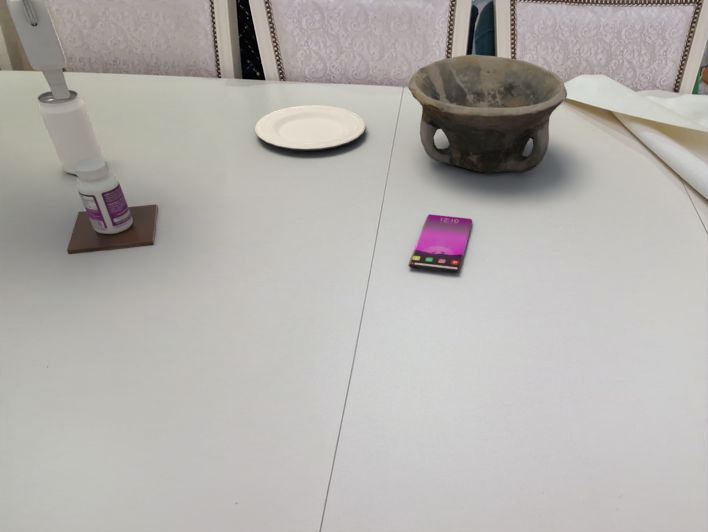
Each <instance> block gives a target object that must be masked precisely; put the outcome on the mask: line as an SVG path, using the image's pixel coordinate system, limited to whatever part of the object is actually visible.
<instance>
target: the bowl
mask: <svg viewBox="0 0 708 532" xmlns="http://www.w3.org/2000/svg"><path fill="white" fill-rule="evenodd" d="M407 87H408V90H409V91H410V93H411V95H412V97H413V98H414V99H415V100H416V101H417V102H418V103H419V104H420V106H421V109H422V111H421V119H420V125H419V135H420V143H421V145H422V147H423V149H424V151H425V153H426V154H427V155H428V156H429V158H430V159H432V160H433V161H436V162H438V163H446V164H448V165H451V166H456V167H459V168H462V169H466V170H470V171H474V172H479V173H483V174H485V173H488V174H489V173H501V172H515V173H525V172H530V171H533V170H534V169H535V168H537V167H538V166H539V164H541V162H542V161H543V159H544V157H545V156H546V153H547V151H548V148H549V143H550V117H551V115H552V113H553V112H554V111H555V110H556V109H558V107H559V106H561V104H562V103H563V102H564V101H565V100H566V99H567V97H568V91H567V88H566V85H565V82H564V80H563V79H562V78H561V76H560V75H558V74H556V73H555V72H554V71H551V70H548V69H546V68H545V67H543V66H540V65H537V64H535V63H532V62H530V61H527V60H521V59H516V58H511V57H510V58H509V57H502V56H496V55H483V54H482V55H480V54H466V55H464V54H463V55H458V56H457V55H456V56H453V57H449V58H443V59H440V60H436V61H434V62H432V63H430V64H427V65H424V66H422V67H420V68H418V69H417V70H416V71H415V72H414V73H413V74H412V76H411V78H410V79H409V82H408V86H407ZM439 130H441V131H442V132H443V134H444V135H445V137H446V139H447V141H448V143H449V144H448V146H447V147H445V148H440V147H437V145H436V142H435V135H436V133H437V131H439ZM530 140H532V147H531V151H530V153H529V154H528V155H524V154H525V151H526V149H527V146H528V143H529V141H530Z"/></svg>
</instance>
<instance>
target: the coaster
mask: <svg viewBox="0 0 708 532" xmlns="http://www.w3.org/2000/svg"><path fill="white" fill-rule="evenodd" d="M128 208H129V210H130V213H131V216H132V219H133V223H132V225H131V226H130V227H129V228H128V229H127V230H125V231H122V232H119V233H116V234H103V233H99V232H97V231H95V229H94V228H93V226H92V224H91V222H90V219H89V217H88V214H87V212H86V210H84V211H78V212H77V215H76V219H75V222H74V226H73V228H72V232H71V236H70V239H69V243H68V246H67V249H66V252H67V254H69V255H70V254H71V255H72V254H79V253H87V252H97V251H105V250H106V251H107V250H115V249H125V248H132V247H133V248H134V247H143V246H151V245H152V246H153V245H154V242H155V236H156V235H155V234H156V225H157V217H158V204H156V203H155V204H146V205H145V204H144V205H136V206H135V205H134V206H128Z"/></svg>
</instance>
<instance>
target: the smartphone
mask: <svg viewBox="0 0 708 532" xmlns="http://www.w3.org/2000/svg"><path fill="white" fill-rule="evenodd" d="M472 225H473V219H472V218H468V217H457V216H450V215H449V216H448V215H440V214H439V215H438V214H431V213H430V214H428V215H427V216H426V218H425V221H424V224H423V226H422V229H421V231H420V233H419V236H418V239H417V241H416V244H415V246H414V249H413V251H412V254H411V256H410V259H409V262H408V264H407V266H408V267H409V268H412V269H422V270H430V271H438V272H446V273H454V274H456V273H459V272H460V269H461V265H462V262H463V258H464V254H465V250H466V248H467V243H468V240H469V236H470V232H471V230H472V229H471V228H472Z"/></svg>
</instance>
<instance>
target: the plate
mask: <svg viewBox="0 0 708 532" xmlns="http://www.w3.org/2000/svg"><path fill="white" fill-rule="evenodd" d="M365 130H366V122H365V120H364V119H363V118H362V117H361V116H360V115H358V114H357V113H356V112H353V111H351V110H348V109H345V108H342V107H336V106H330V105H319V104H318V105H317V104H316V105H314V104H311V105H310V104H309V105H298V106H291V107H285V108H281V109H278V110H275V111H272V112H269V113H268V114H266V115H264V116H263V117H261V118H259V120H258V121H257V122H256V124H255V125H254V133H255V134H256V137H258V139H260V140H261V141H263V142H265V143H266V144H268V145H272V146H274V147H277V148H280V149H287V150H292V151H311V152H312V151H322V150H323V151H324V150H329V149H334V148H337V147H341V146H344V145H348V144H351V143H353V142H354V141H356V140H357V139H359V138H360V137H361V136H362V135H363V134H364V133H365Z"/></svg>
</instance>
